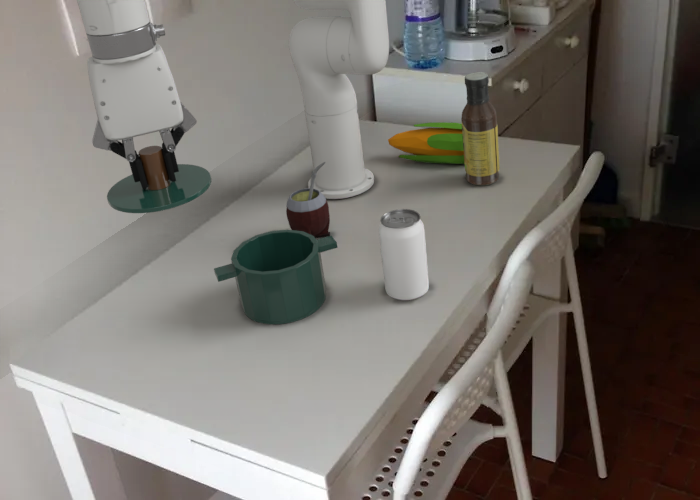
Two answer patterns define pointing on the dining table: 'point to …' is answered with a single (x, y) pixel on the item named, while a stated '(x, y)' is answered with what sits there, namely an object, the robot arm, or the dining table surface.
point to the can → (403, 254)
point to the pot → (279, 275)
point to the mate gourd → (309, 210)
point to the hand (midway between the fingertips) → (157, 180)
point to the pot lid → (158, 185)
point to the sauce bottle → (480, 132)
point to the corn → (432, 143)
